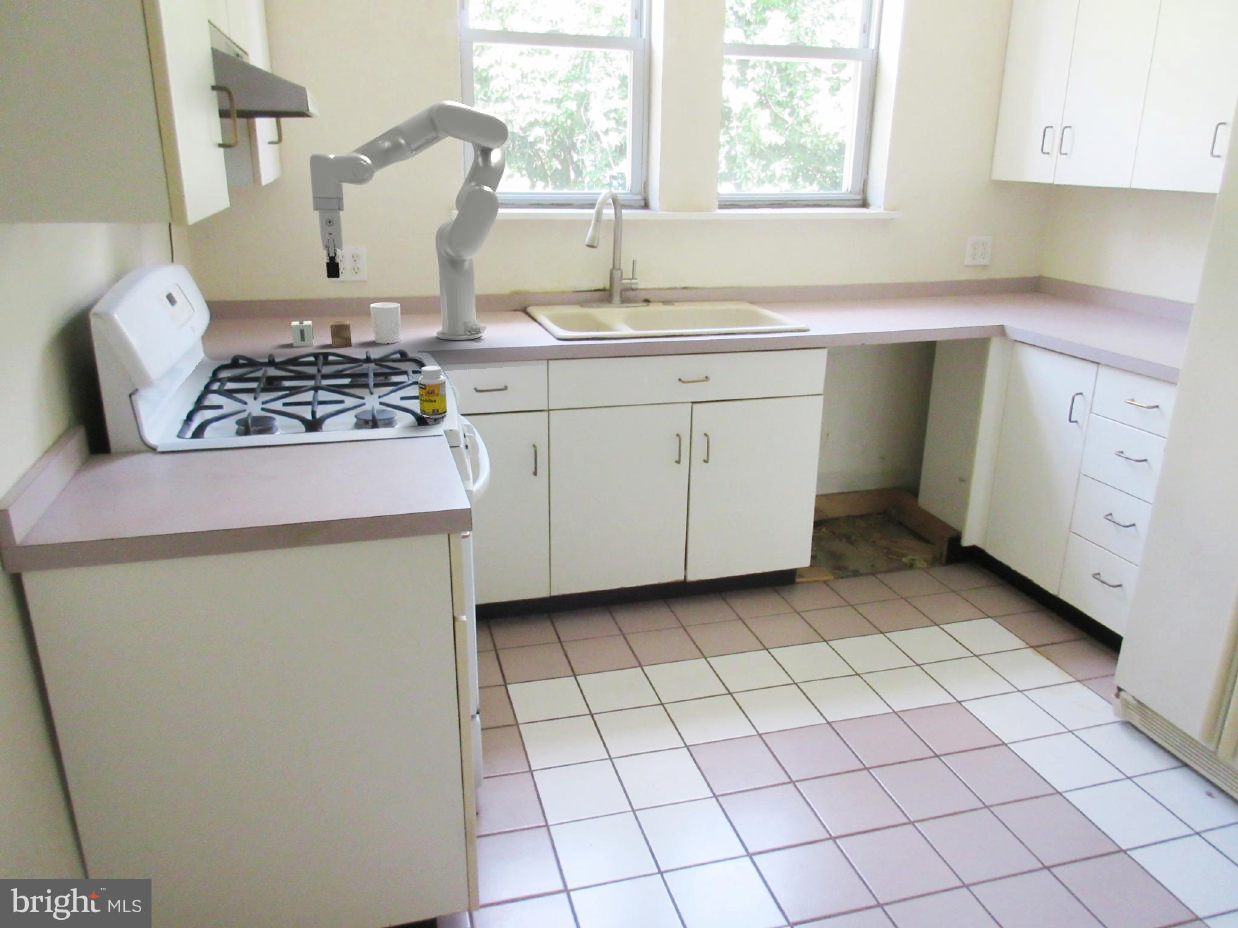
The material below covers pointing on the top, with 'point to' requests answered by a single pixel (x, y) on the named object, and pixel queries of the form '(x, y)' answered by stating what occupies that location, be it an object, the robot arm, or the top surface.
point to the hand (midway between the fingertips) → (333, 277)
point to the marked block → (302, 333)
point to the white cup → (386, 322)
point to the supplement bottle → (432, 392)
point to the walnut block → (340, 333)
